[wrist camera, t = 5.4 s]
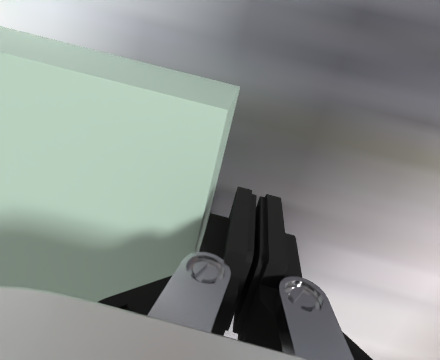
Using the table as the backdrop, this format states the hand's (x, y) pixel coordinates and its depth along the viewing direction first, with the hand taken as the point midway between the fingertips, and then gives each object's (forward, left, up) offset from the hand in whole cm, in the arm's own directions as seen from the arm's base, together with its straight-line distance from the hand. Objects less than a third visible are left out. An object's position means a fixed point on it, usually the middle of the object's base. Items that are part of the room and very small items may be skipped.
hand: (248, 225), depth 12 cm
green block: (+8, +1, -4) cm, 9 cm away
